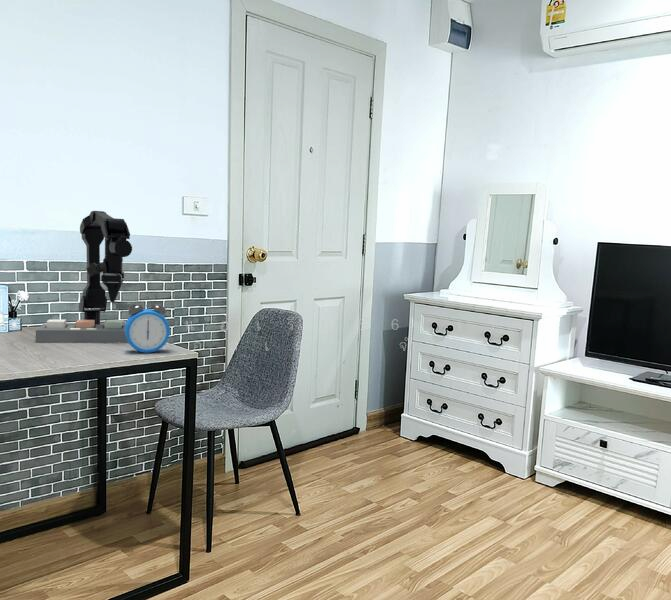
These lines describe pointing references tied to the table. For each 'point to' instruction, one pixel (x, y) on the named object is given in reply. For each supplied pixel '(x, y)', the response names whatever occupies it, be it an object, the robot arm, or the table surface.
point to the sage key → (113, 324)
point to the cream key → (56, 323)
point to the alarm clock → (147, 328)
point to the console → (81, 334)
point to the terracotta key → (85, 324)
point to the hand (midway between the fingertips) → (113, 301)
